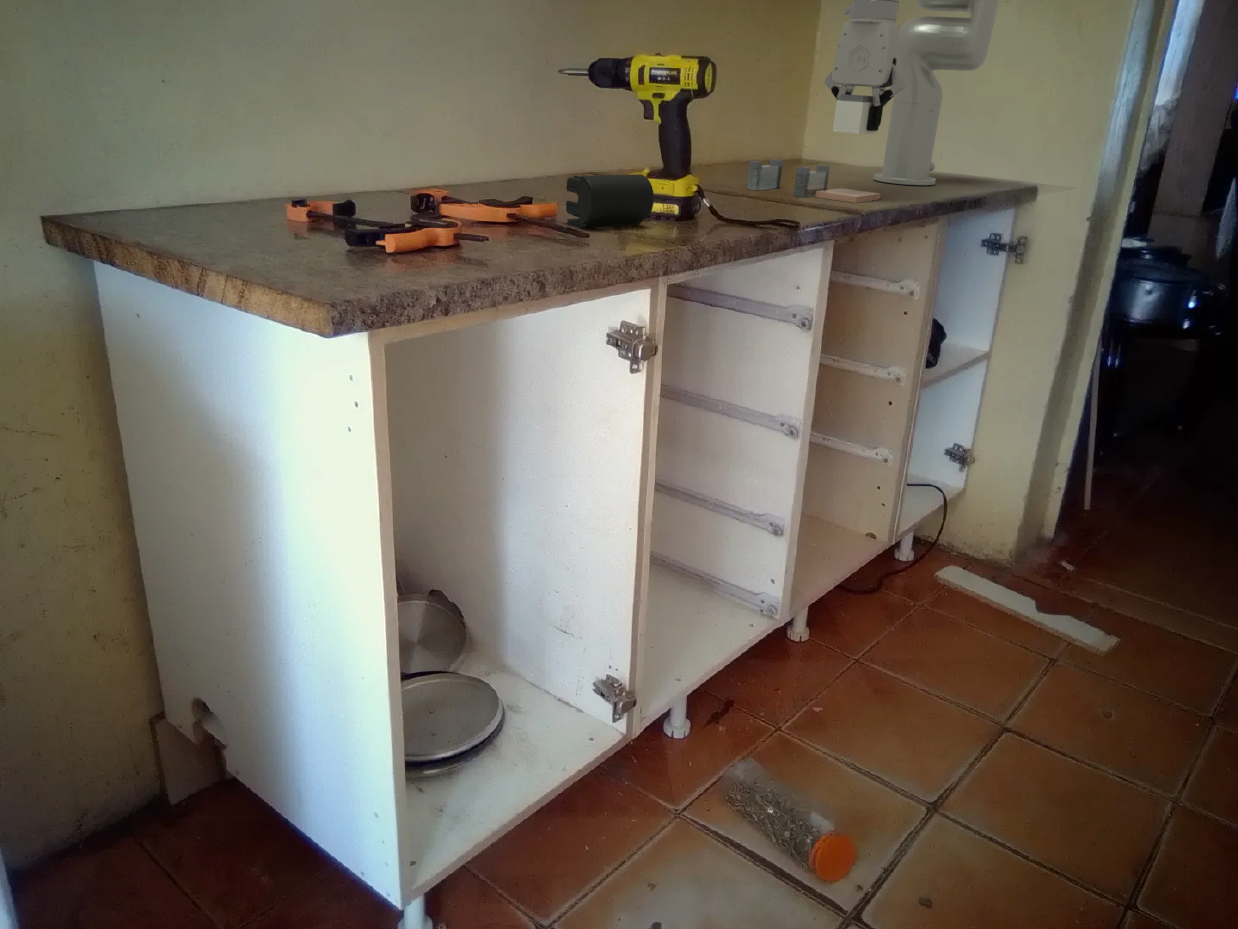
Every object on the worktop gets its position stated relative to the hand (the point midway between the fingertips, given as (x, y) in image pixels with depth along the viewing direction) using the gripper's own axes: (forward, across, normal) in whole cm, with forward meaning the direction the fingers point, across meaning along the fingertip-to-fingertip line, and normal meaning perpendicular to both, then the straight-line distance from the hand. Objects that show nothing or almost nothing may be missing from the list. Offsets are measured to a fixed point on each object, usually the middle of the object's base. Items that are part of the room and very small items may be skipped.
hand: (857, 127), depth 164 cm
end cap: (+13, -3, -61) cm, 62 cm away
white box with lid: (+1, 0, -1) cm, 1 cm away
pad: (+12, 0, 0) cm, 12 cm away
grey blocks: (+12, -11, -3) cm, 17 cm away
